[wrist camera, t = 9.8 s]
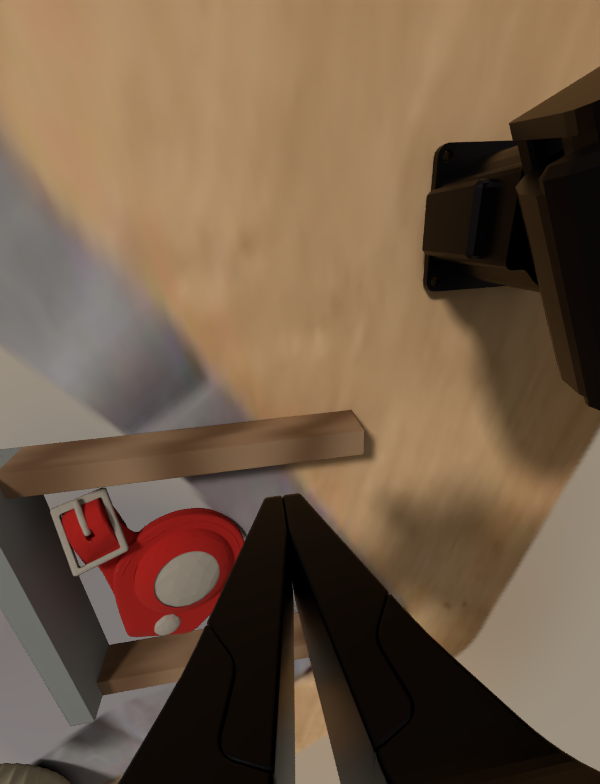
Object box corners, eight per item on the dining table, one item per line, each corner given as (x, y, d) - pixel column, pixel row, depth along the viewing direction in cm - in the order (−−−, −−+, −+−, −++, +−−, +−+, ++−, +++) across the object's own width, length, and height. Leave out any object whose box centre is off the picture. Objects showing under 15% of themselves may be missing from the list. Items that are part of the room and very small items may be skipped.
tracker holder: (272, 523, 23) (222, 656, 24) (250, 489, 27) (208, 606, 28) (52, 504, 17) (-3, 682, 18) (64, 464, 21) (18, 613, 22)
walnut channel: (351, 410, 22) (363, 430, 19) (349, 616, 29) (358, 647, 27) (22, 446, 20) (-7, 474, 17) (114, 657, 27) (102, 695, 25)
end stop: (22, 446, 20) (-28, 495, 16) (114, 657, 27) (94, 721, 24) (-7, 450, 19) (-65, 499, 16) (93, 660, 27) (70, 726, 24)
